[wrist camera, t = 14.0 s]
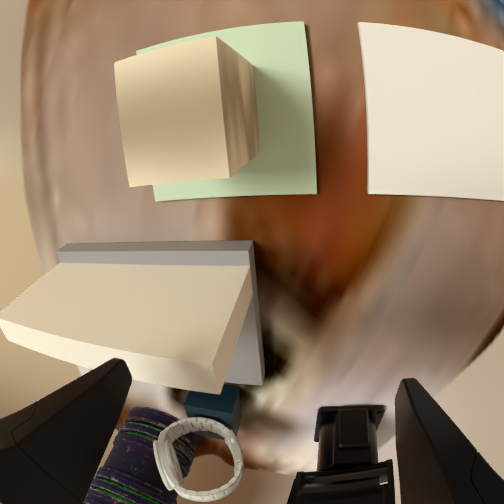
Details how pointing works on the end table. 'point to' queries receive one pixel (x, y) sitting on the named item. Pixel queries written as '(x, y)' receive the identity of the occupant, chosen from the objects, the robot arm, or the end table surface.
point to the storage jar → (140, 462)
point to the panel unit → (149, 311)
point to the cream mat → (432, 113)
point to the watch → (206, 424)
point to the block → (187, 112)
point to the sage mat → (266, 116)
